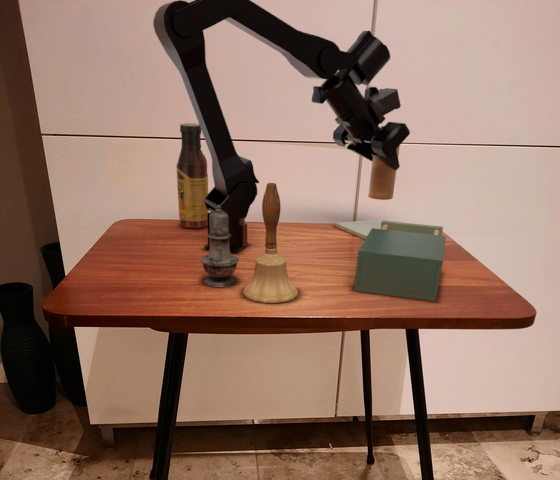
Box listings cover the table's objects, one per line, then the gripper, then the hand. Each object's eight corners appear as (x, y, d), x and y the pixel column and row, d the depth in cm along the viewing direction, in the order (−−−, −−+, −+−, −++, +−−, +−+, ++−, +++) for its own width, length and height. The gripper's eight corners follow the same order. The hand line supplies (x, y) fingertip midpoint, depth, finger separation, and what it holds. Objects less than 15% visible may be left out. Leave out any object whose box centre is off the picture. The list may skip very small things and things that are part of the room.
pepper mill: (374, 200, 110) (383, 127, 103) (364, 195, 114) (372, 124, 107) (396, 199, 111) (407, 127, 105) (385, 194, 115) (394, 125, 109)
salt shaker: (233, 289, 83) (232, 209, 78) (196, 285, 84) (193, 206, 79) (242, 277, 88) (242, 201, 83) (208, 273, 89) (205, 198, 84)
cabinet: (367, 264, 97) (371, 228, 94) (439, 272, 94) (445, 235, 91) (353, 290, 85) (358, 250, 82) (435, 301, 82) (443, 260, 79)
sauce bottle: (180, 222, 118) (174, 121, 109) (209, 222, 119) (206, 122, 109) (178, 230, 113) (172, 124, 103) (209, 230, 113) (206, 125, 104)
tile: (365, 239, 111) (366, 235, 111) (335, 226, 119) (336, 223, 119) (407, 234, 116) (408, 230, 115) (376, 222, 124) (376, 219, 124)
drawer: (381, 239, 108) (384, 215, 106) (439, 246, 106) (443, 221, 103) (368, 265, 94) (372, 237, 91) (435, 273, 91) (440, 245, 89)
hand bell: (242, 302, 79) (242, 188, 71) (244, 283, 86) (244, 177, 78) (299, 304, 79) (305, 190, 71) (296, 284, 86) (301, 179, 79)
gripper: (409, 71, 93) (448, 141, 102) (351, 69, 107) (390, 131, 117) (364, 122, 93) (407, 186, 103) (313, 113, 108) (355, 170, 118)
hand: (389, 166), depth 110 cm, fingers closed on pepper mill, 5 cm apart
